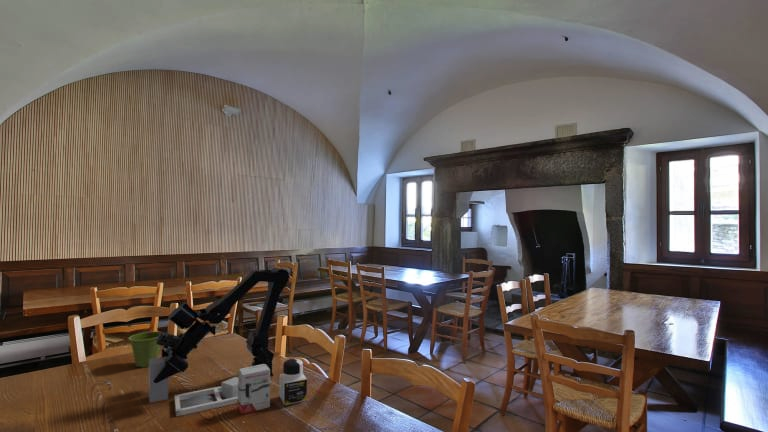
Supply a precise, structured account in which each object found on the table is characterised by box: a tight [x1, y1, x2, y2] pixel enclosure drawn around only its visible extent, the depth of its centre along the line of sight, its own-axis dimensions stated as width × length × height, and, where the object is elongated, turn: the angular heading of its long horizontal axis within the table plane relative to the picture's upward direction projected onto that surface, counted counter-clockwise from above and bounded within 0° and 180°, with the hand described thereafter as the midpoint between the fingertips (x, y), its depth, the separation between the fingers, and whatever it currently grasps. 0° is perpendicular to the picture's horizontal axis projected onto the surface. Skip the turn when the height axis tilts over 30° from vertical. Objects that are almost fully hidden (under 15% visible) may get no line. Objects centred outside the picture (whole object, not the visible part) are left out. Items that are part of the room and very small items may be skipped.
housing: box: [174, 386, 238, 418], centre depth 124 cm, size 22×12×2 cm, turn 120°
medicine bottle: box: [278, 358, 308, 406], centre depth 125 cm, size 7×7×12 cm
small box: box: [220, 376, 238, 399], centre depth 127 cm, size 6×6×5 cm
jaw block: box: [148, 356, 169, 404], centre depth 125 cm, size 5×5×12 cm
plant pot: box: [128, 330, 161, 368], centre depth 153 cm, size 12×12×11 cm
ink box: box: [237, 364, 271, 415], centre depth 119 cm, size 8×5×12 cm, turn 123°
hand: (153, 377), depth 124 cm, fingers open, 8 cm apart
